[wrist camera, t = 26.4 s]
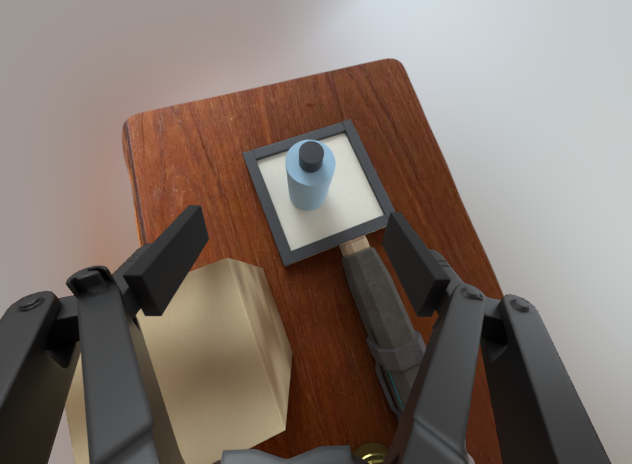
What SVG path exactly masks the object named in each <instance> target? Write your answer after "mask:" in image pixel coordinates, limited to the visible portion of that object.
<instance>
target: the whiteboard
mask: <svg viewBox="0 0 632 464" xmlns="http://www.w3.org/2000/svg"><path fill="white" fill-rule="evenodd" d="M303 140H316V141H319V142H322V143H324V144H325V145H327V146H328V147H329V148H330V149H331V151H332V152H333V154H334V157H335V161H336V167H335V171H334V174H333V177H332V180H331V183H330V186H329V189H328V193H327V196H326V199H325V201H324V203H323V204H322V205H321V206H320V207H318V208H317V209H314V210H302V209H300V208H298V207H296V206H295V205H294V204H293V203H292V201H291V199H290V197H289V189H288V181H287V173H286V165H285V159H286V155H287V153H288V151H289V149H290V148H291V147H292V146H293V145H295V144H296V143H298V142H300V141H303ZM242 154H243V157H244V160H245V162H246V165H247V168H248V170H249V173H250V176H251V178H252V181H253V184H254V186H255V189H256V192H257V194H258V197H259V200H260V202H261V205H262V208H263V210H264V213H265V216H266V218H267V221H268V224H269V226H270V229H271V232H272V234H273V237H274V240H275V242H276V245H277V248H278V250H279V253H280V256H281V258H282V261H283V264H284V266H285V267H286V266H288V265H291V264H293V263H296V262H298V261H301V260H303V259H306V258H308V257H311V256H313V255H316V254H318V253H321V252H323V251H326V250H328V249H331V248H333V247H336V246H338V245H341V244H343V243H346V242H348V241H351V240H353V239H356V238H358V237H361V236H363V235H366V234H369V233H371V232H374V231H376V230H379V229H381V228H384V227H386V226H387V223H388V219H389V216H390V212H395V210H394V208H393V206H392V204H391V202H390V200H389V198H388V196H387V194H386V192H385V190H384V187H383V185H382V183H381V181H380V179H379V177H378V175H377V173H376V171H375V169H374V167H373V165H372V163H371V160H370V158H369V156H368V154H367V152H366V150H365V148H364V146H363V144H362V142H361V140H360V138H359V136H358V133H357V131H356V129H355V127H354V125H353V123H352V121H351V119H350V120H347V121H344V122H340V123H337V124H334V125H331V126H328V127H324V128H321V129H318V130H315V131H312V132H308V133H305V134H302V135H299V136H296V137H292V138H289V139H286V140H283V141H280V142H276V143H273V144H270V145H267V146H264V147H260V148H257V149H254V150H250V151H247V152H244V153H242Z"/></svg>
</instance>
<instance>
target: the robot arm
mask: <svg viewBox="0 0 632 464" xmlns="http://www.w3.org/2000/svg"><path fill="white" fill-rule="evenodd" d="M208 240H209V237H208V233H207V229H206V225H205V221H204V217H203V212H202V208H201V206H197V205H189V206H188V207H187V208H186V209H185V210H184V211H183V212H182V213H181V214H180V215H179V216H178V217H177V218H176V219H175V221H174V222H173V223H172V224H171V225H170V226H169V227H168V228H167V229H166V230H165V231H164V232H163V233H162V234H161V235H160V236H159V237H158V238H157V239H156V240H155V242H154V243H153V244H151V243H147V244H146V245H144V246H142V247H140V248H139V249H137V250H136V251H135V252H134V253H133V254H132V256H131V257H129V259H127V260H126V262H124V263H123V264H122V265H121V266H120V267H119V268H118V269H117V270H116V271H115V272H114V273H113V274H112V275H111V273H110V271H109V270H108V268H107V267H105V266H92V267H88V268H85V269H83V270H80V271H78V272H76V273H75V274H73V275H72V276H71V277H69V278H68V280H67V282H66V285H67V286H68V288H69V289H70V290H71V291H72V293H73V294H74V295H73V296H68V297H63V298H57V296H56V295H55V294H54V293H53V292H50V291H43V292H37V293H34V294H31V295H28V296H26V297H23V298H21V299H20V300H18V301H17V302H15V303H14V304H12V305H11V306H10V307H9V308H8V309H7V311H6V312H5V314H4V315H3V317H2V318H1V320H0V464H48V460H49V457H50V453H51V450H52V446H53V444H54V440H55V437H56V434H57V430H58V427H59V424H60V420H61V417H62V413H63V410H64V407H65V403H66V400H67V397H68V393H69V390H70V387H71V383H72V380H73V377H74V373H75V370H76V367H77V363H78V360H79V357H80V353H81V362H82V375H83V387H84V400H85V413H86V426H87V439H88V451H89V464H185V462H184V460H183V458H182V456H181V453H180V450H179V447H178V444H177V441H176V438H175V435H174V431H173V428H172V425H171V422H170V419H169V416H168V412H167V409H166V406H165V403H164V400H163V397H162V393H161V390H160V387H159V384H158V381H157V378H156V374H155V371H154V368H153V365H152V362H151V359H150V355H149V352H148V349H147V346H146V343H145V339H144V336H143V333H142V330H141V327H140V324H139V320H138V318H137V317H136V314H137V313H138V312H139V310H140V309H141V310H142V311H143V313H144V315H145V316H162V315H163V313H164V311H165V310H166V308H167V306H168V305H169V303H170V302H171V300H172V298H173V297H174V295H175V293H176V292H177V290H178V289H179V287H180V285H181V284H182V282H183V280H184V279H185V277H186V276H187V274H188V272H189V271H190V269H191V267H192V266H193V264H194V263H195V261H196V259H197V258H198V256H199V254H200V253H201V251H202V250H203V248H204V246H205V245H206V243H207V241H208ZM382 245H383V247H384V249H385V251H386V253H387V255H388V257H389V259H390V261H391V263H392V265H393V267H394V269H395V271H396V273H397V275H398V277H399V280H400V282H401V284H402V286H403V288H404V290H405V292H406V294H407V296H408V298H409V300H410V302H411V304H412V306H413V308H414V310H415V312H416V314H417V316H418V317H431V316H432V314H433V313H434V311H435V309H436V311H437V313H438V314H439V317H438V318H437V320H436V322H435V324H434V325H433V327H432V329H433V331H432V334H431V337H430V340H429V342H428V345H427V348H426V351H425V353H424V356H423V359H422V362H421V364H420V367H419V370H418V373H417V375H416V378H415V381H414V384H413V386H412V389H411V392H410V394H409V397H408V400H407V403H406V405H405V408H404V411H403V414H402V416H401V419H400V422H399V425H398V427H397V430H396V433H395V436H394V438H393V441H392V444H391V446H390V448H389V450H388V452H387V454H386V456H385V459H384V461H383V463H382V464H468V463H467V461H466V459H465V458H464V455H463V448H464V442H465V435H466V428H467V422H468V415H469V409H470V402H471V396H472V389H473V383H474V376H475V370H476V363H477V357H478V350H479V344H480V345H481V350H482V355H483V361H484V366H485V371H486V377H487V382H488V387H489V392H490V398H491V403H492V408H493V413H494V419H495V424H496V429H497V435H498V440H499V445H500V450H501V456H502V461H503V464H611V462H610V460H609V458H608V456H607V454H606V452H605V450H604V447H603V445H602V443H601V442H600V439H599V437H598V435H597V433H596V431H595V429H594V427H593V425H592V423H591V421H590V418H589V416H588V414H587V412H586V410H585V408H584V406H583V404H582V402H581V400H580V398H579V396H578V394H577V392H576V389H575V387H574V385H573V383H572V381H571V379H570V377H569V375H568V373H567V371H566V369H565V367H564V365H563V362H562V361H561V359H560V356H559V354H558V352H557V350H556V348H555V346H554V344H553V342H552V340H551V338H550V336H549V334H548V331H547V329H546V327H545V325H544V323H543V321H542V319H541V317H540V315H539V313H538V311H537V310H536V308H535V307H534V306H533V305H532V304H531V303H530V302H528V301H527V300H525V299H524V298H521V297H519V296H516V295H511V294H509V295H505V296H504V297H503V298H502V300H496V299H492V298H488V297H485V295H484V294H483V293H482V292H481V291H480V290H479V289H477V288H476V287H474V286H472V285H469V284H464V282H463V281H462V280H461V279H460V277H459V276H458V275H457V274H456V272H455V271H454V270H453V269H452V267H450V265H449V264H448V263H447V262H446V260H445V259H444V258H443V256H442V255H441V254H439V253H438V252H437V251H435V250H434V249H428V248H427V247H426V245H425V244H424V243H423V241H422V240H421V239H420V237H419V236H418V235H417V233H416V232H415V231H414V230H413V228H412V227H411V226H410V224H409V223H408V222H407V220H406V219H405V218H404V216H403V215H402V214H401V213H397V212H390V216H389V219H388V223H387V226H386V230H385V234H384V237H383V241H382ZM212 464H370V463H368V462H367V461H366V460H364V459H362V458H361V457H359V456H357V455H354V454H351V448H350V445H340V446H319V447H317V448H315V449H312V450H310V451H307V452H305V453H302V454H300V455H297V456H295V457H293V458H290V459H284V458H281V457H278V456H275V455H272V454H269V453H266V452H263V451H260V450H257V449H241V450H223V453H222V458H221V460H218V461H216V462H214V463H212Z"/></svg>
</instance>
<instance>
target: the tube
mask: <svg viewBox="0 0 632 464" xmlns="http://www.w3.org/2000/svg"><path fill="white" fill-rule="evenodd" d="M339 247H340V250H341V252H342V255H343V258H342V259H341V260H342V264H343V267H344V271H345V275H346V278H347V282H348V286H349V288H350V291H351V293H352V296H353V298H354V301H355V303H356V306H357V309H358V311H359V314H360V316H361V319H362V321H363V324H364V326H365V329H366V331H367V334H368V337H367V339H366V341H367V344H368V346H369V349H370V351H371V354H372V356H373V357H374V358H375V361H376V366H375V371H376V374H377V376H378V379H379V381H380V384H381V386H382V389H383V392H384V394H385V397H386V399H387V402H388V404H389V407H390V408H391V410H392V411H393V412H395V413H396V418H397V420H398V423H399V422H400V419H401V416H402V414H403V411H404V408H405V405H406V403H407V400H408V397H409V394H410V392H411V389H412V386H413V384H414V381H415V378H416V375H417V373H418V370H419V367H420V364H421V362H422V359H423V356H424V353H425V351H426V346H425V343H424V341H423V339H422V336H421V334H420V333H419V332H417V331H415V330H414V329H413V327H412V324H411V322H410V320H409V317H408V315H407V313H406V310H405V308H404V306H403V303H402V301H401V299H400V296H399V294H398V292H397V289H396V287H395V285H394V282H393V280H392V278H391V276H390V274H389V272H388V270H387V269H386V267H385V265H384V264H383V262H382V260H381V259H380V257H379V255H378V254H377V252H376V250H375V249H374V248H370V246H369V243H368V241H367V238H366V236H365V235H364V236H361V237H359V238H356V239H353V240H351V241H348V242H346V243H343V244H342V245H340V246H339ZM380 369H382V372H383V374H384V377H385V379H386V382H387V384H388V387H389V389H390V392H391V394H392V397H393V399H394V402H395V405H396V407H397V408H396V407H395V406H394V404H393V401H392V399H391V396H390V394H389V391H388V388H387V386H386V383H385V381H384V378H383V376H382V373H381V371H380ZM463 455H464V458H465V459H466V461H467V463H468V464H475V462H474V460H473V458H472V457H471V456H470V455H469V454H468V453H467V451H466V440H465V442H464V448H463Z"/></svg>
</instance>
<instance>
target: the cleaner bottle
mask: <svg viewBox="0 0 632 464" xmlns="http://www.w3.org/2000/svg"><path fill="white" fill-rule="evenodd" d="M285 165H286V173H287V181H288V189H289V197H290V199H291V201H292V203H293V204H294V205H295V206H296V207H298V208H300V209H302V210H314V209H317V208H318V207H320V206H321V205H322V204H323V203H324V201H325V199H326V196H327V193H328V189H329V186H330V183H331V180H332V177H333V174H334V171H335V167H336V161H335V157H334V154H333V152H332V151H331V149H330V148H329V147H328V146H327V145H325V144H324V143H322V142H319V141H316V140H303V141H300V142H298V143H296V144H295V145H293V146H292V147H291V148H290V149H289V151H288V153H287V155H286V159H285Z"/></svg>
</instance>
